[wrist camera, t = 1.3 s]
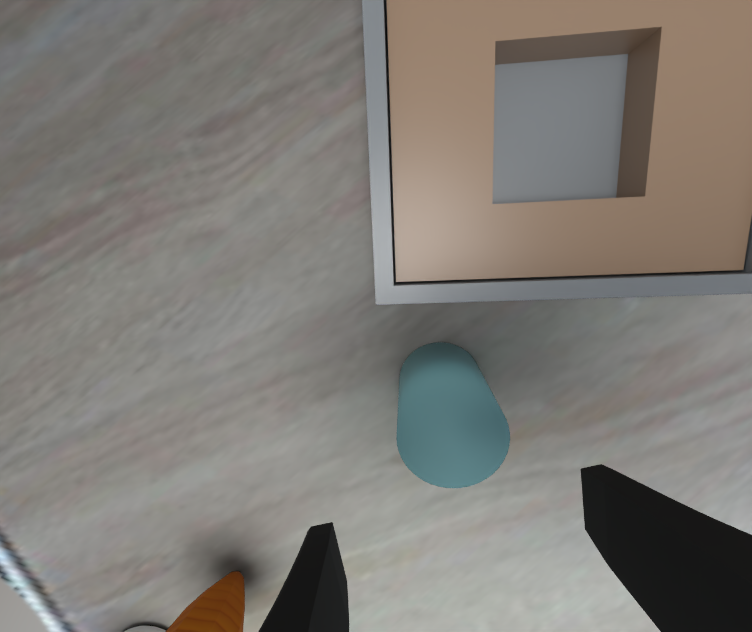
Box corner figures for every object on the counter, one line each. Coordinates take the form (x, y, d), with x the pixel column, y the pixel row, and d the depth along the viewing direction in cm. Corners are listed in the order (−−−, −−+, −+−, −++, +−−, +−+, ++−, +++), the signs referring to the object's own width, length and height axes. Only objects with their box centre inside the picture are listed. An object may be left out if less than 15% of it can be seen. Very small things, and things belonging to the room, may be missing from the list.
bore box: (753, -57, 16) (850, -137, 12) (707, 281, 19) (774, 292, 15) (367, -17, 17) (358, -80, 14) (381, 292, 20) (375, 304, 17)
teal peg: (481, 341, 20) (511, 385, 14) (480, 418, 21) (508, 488, 15) (398, 343, 21) (394, 387, 15) (400, 418, 22) (398, 487, 16)
